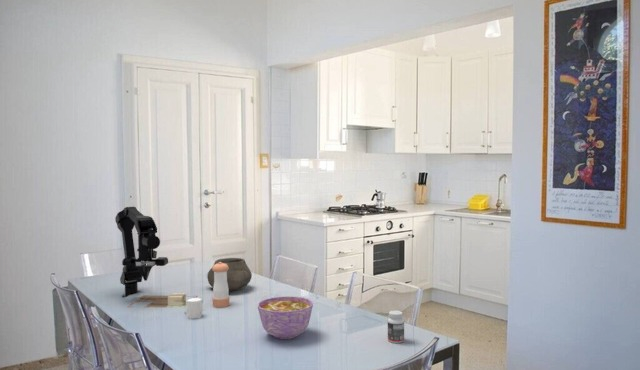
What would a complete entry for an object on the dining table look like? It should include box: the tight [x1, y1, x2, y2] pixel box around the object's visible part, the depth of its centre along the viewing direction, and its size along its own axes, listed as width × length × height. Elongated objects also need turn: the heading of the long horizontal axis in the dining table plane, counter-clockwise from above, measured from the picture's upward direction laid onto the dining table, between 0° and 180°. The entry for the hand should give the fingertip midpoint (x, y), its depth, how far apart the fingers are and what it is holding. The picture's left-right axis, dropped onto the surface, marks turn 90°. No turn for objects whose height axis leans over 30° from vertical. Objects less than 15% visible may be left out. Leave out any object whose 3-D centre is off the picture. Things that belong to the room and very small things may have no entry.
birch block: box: [167, 292, 187, 306], centre depth 221 cm, size 6×6×4 cm
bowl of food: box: [257, 295, 314, 340], centre depth 185 cm, size 20×20×12 cm
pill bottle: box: [387, 310, 405, 344], centre depth 178 cm, size 6×6×10 cm
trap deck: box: [127, 295, 198, 308], centre depth 227 cm, size 18×26×2 cm
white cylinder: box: [185, 297, 204, 320], centre depth 209 cm, size 7×7×7 cm
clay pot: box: [206, 257, 253, 292], centre depth 250 cm, size 22×21×15 cm
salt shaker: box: [211, 262, 231, 308], centre depth 224 cm, size 7×7×19 cm
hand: (145, 280), depth 227 cm, fingers closed
